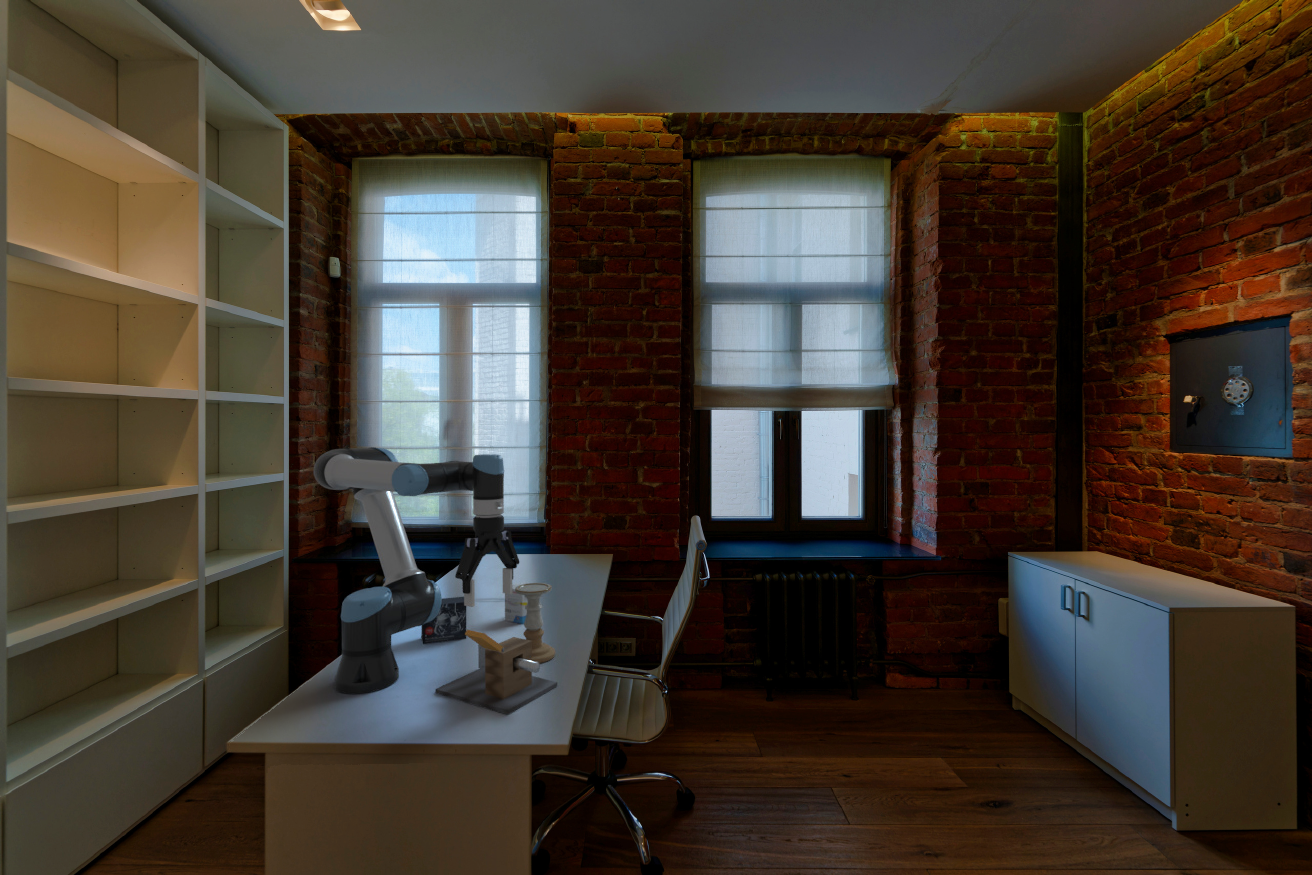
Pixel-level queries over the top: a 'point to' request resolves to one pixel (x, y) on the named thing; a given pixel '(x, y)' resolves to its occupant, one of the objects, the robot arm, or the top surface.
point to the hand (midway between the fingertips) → (489, 599)
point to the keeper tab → (484, 640)
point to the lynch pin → (517, 662)
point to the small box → (446, 622)
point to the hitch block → (500, 680)
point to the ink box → (515, 606)
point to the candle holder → (535, 620)
